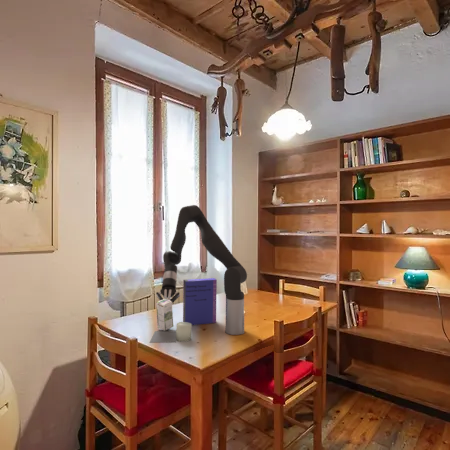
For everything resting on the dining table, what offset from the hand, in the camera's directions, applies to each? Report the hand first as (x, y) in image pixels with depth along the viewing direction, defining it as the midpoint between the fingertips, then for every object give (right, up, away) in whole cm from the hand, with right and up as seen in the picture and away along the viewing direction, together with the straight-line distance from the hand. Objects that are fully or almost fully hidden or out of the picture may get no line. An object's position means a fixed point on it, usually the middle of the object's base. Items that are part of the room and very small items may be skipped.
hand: (166, 309), depth 177 cm
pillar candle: (+11, -10, -16) cm, 22 cm away
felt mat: (+2, -10, -13) cm, 17 cm away
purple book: (+17, -10, +10) cm, 22 cm away
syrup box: (0, -9, -2) cm, 9 cm away
